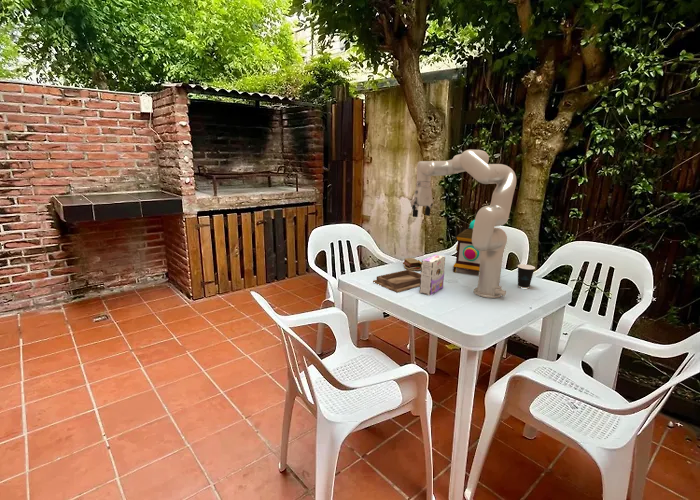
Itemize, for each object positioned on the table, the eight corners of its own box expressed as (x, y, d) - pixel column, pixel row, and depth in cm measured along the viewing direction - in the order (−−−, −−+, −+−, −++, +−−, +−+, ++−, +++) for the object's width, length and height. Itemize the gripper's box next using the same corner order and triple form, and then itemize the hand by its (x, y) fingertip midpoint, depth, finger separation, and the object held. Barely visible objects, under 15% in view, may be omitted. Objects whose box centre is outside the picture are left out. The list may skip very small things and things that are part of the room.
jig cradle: (431, 283, 189) (432, 276, 188) (397, 292, 175) (397, 285, 174) (406, 274, 203) (406, 268, 202) (372, 282, 189) (373, 275, 188)
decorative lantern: (486, 278, 198) (492, 223, 191) (449, 272, 207) (454, 219, 200) (492, 269, 215) (498, 218, 208) (458, 264, 224) (463, 215, 217)
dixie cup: (525, 284, 190) (528, 263, 187) (535, 289, 182) (538, 268, 179) (511, 285, 188) (514, 264, 185) (521, 290, 180) (524, 269, 178)
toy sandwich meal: (410, 272, 208) (410, 264, 207) (399, 265, 220) (400, 258, 219) (429, 270, 212) (430, 262, 210) (418, 264, 224) (419, 256, 223)
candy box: (432, 285, 186) (434, 254, 182) (443, 288, 182) (446, 256, 178) (419, 292, 175) (421, 259, 171) (430, 295, 172) (432, 261, 168)
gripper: (417, 185, 191) (415, 218, 195) (439, 184, 201) (437, 215, 205) (406, 184, 197) (405, 216, 201) (428, 183, 207) (426, 214, 211)
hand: (421, 216), depth 203 cm, fingers open, 9 cm apart
